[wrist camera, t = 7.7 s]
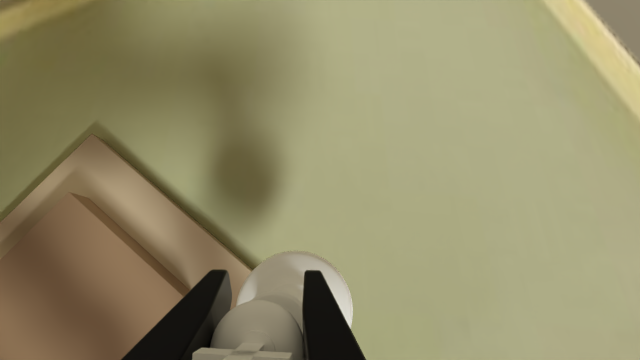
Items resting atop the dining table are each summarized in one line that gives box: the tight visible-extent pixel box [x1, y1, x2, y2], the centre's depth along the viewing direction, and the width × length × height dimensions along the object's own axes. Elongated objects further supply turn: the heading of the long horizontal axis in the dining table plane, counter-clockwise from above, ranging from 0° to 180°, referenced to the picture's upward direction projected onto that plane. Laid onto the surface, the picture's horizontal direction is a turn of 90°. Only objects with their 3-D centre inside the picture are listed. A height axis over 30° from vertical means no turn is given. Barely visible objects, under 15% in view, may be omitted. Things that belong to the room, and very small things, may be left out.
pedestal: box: [0, 134, 253, 360], centre depth 20 cm, size 15×15×3 cm
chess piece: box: [192, 251, 353, 360], centre depth 10 cm, size 5×5×10 cm
